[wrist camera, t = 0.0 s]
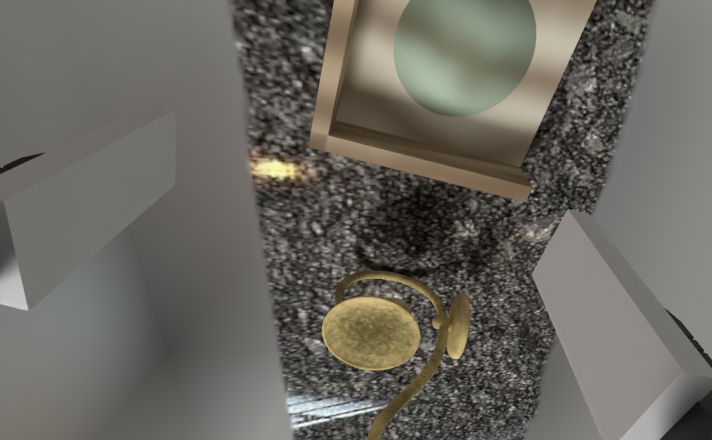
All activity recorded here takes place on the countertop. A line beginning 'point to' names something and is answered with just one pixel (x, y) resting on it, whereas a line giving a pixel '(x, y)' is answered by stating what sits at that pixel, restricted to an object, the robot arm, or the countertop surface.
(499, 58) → the tray
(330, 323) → the wall sconce
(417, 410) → the countertop surface
